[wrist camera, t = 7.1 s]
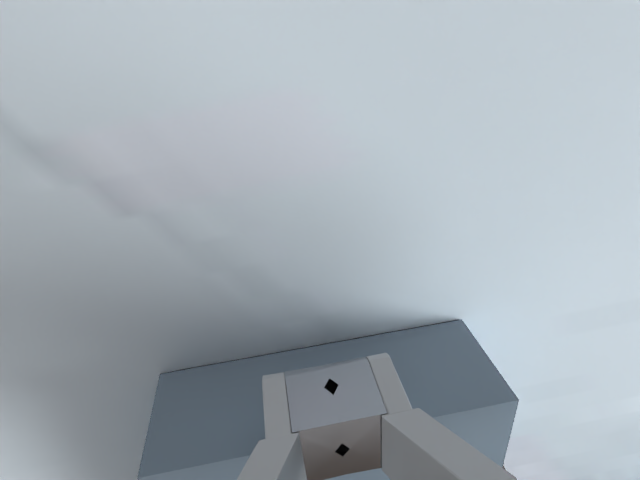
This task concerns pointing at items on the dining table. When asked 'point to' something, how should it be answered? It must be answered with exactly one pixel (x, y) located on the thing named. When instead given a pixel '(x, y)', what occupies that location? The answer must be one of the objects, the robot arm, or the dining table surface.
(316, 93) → the dining table surface
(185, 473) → the shell
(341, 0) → the dining table surface
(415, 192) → the dining table surface
